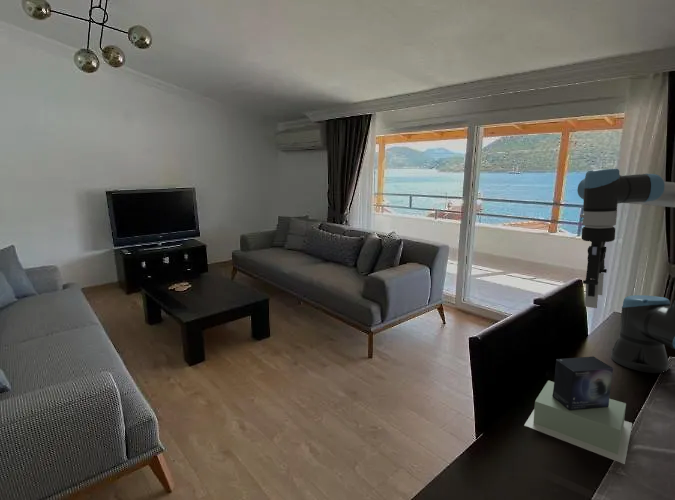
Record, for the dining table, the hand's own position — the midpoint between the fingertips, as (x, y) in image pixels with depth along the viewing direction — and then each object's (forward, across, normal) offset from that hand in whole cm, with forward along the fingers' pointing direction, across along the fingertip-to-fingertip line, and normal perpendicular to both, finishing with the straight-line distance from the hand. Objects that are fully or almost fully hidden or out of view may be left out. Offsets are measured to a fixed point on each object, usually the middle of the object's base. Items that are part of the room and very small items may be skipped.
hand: (593, 300), depth 104 cm
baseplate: (+27, +22, 0) cm, 35 cm away
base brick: (+26, +22, 0) cm, 34 cm away
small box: (+20, +22, 0) cm, 30 cm away
